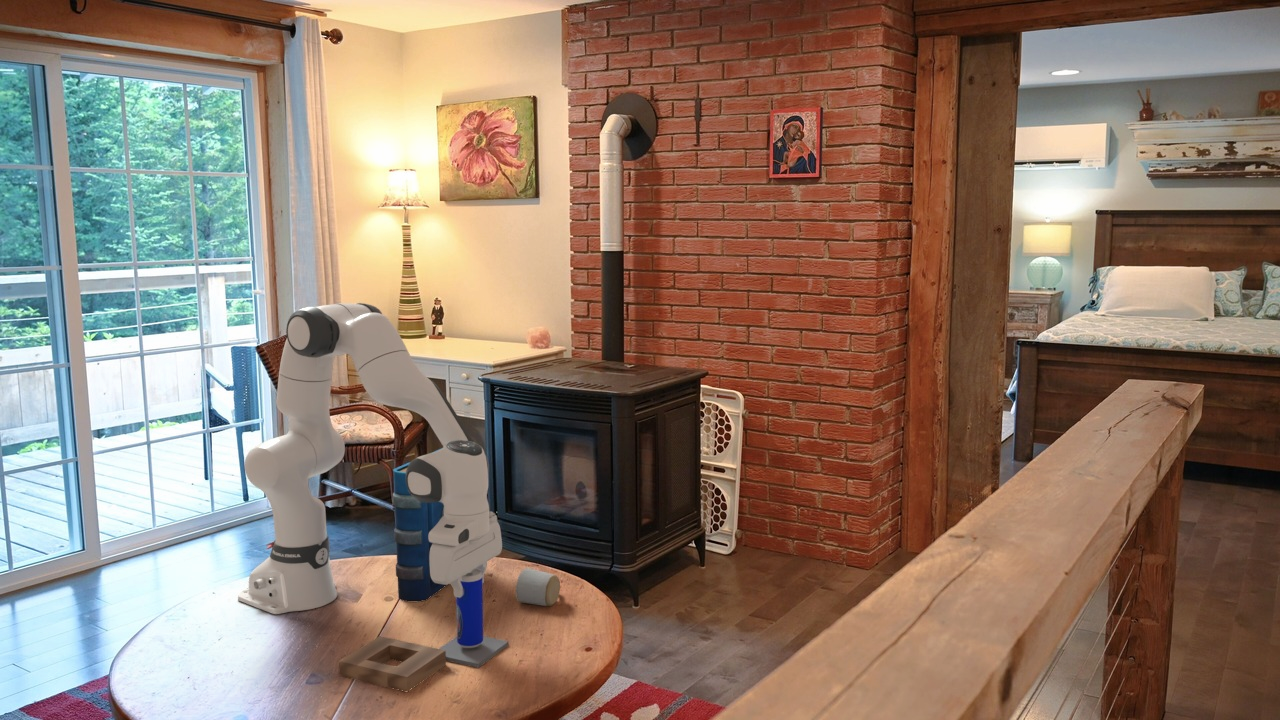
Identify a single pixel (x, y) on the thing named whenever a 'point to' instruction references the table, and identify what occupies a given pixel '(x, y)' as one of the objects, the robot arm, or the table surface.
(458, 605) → the beverage can
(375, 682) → the walnut caddy
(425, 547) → the book
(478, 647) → the rubber mat
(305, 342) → the robot arm
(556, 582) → the ceramic mug
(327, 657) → the table surface
